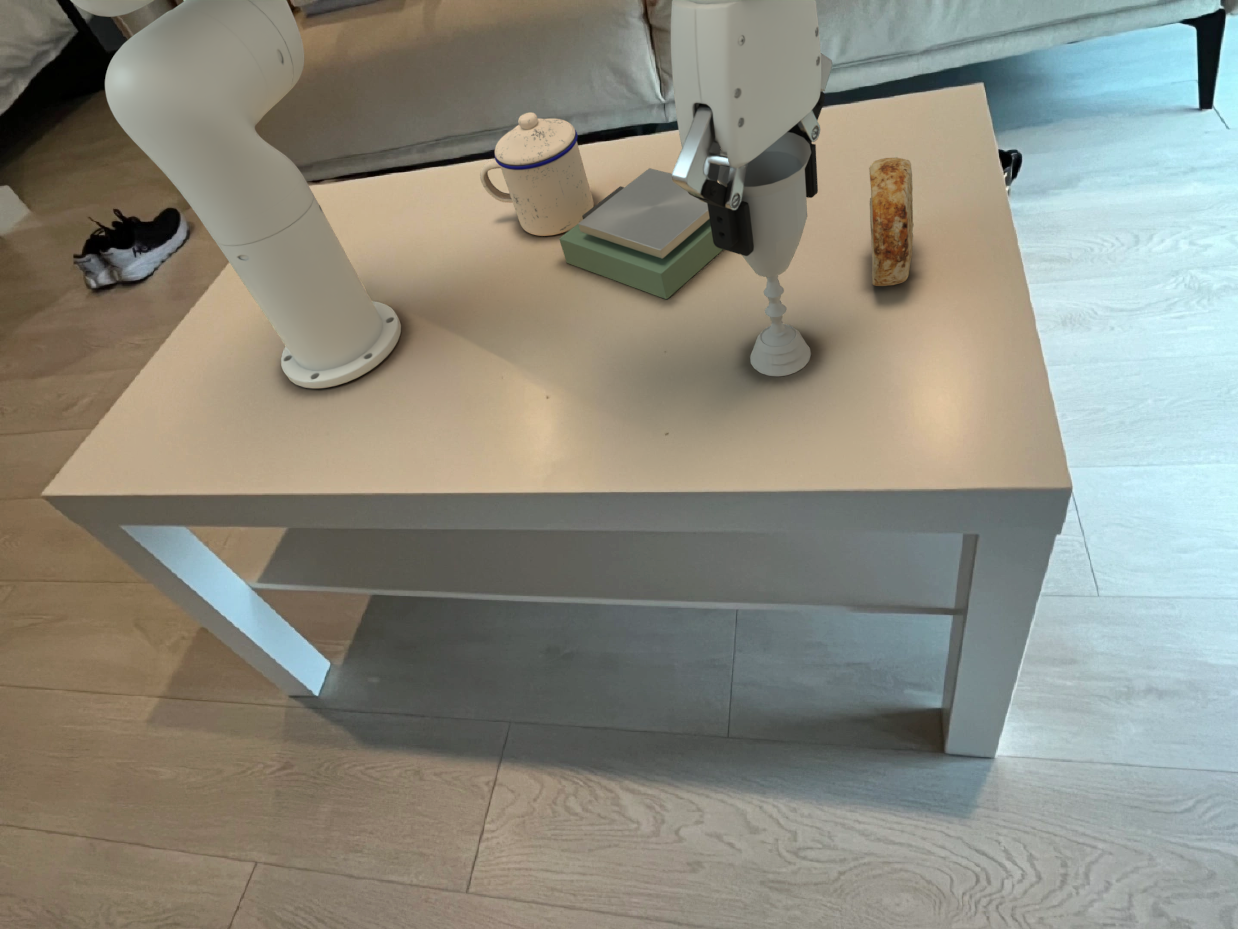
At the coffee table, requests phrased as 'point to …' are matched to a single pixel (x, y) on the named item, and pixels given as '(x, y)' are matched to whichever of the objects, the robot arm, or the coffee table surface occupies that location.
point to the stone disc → (891, 220)
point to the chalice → (776, 243)
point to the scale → (640, 258)
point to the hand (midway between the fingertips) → (766, 218)
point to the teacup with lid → (541, 175)
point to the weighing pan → (648, 215)
